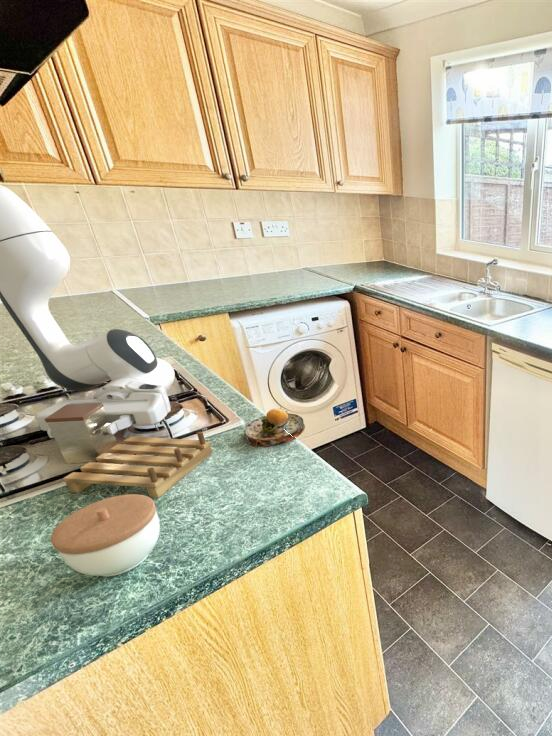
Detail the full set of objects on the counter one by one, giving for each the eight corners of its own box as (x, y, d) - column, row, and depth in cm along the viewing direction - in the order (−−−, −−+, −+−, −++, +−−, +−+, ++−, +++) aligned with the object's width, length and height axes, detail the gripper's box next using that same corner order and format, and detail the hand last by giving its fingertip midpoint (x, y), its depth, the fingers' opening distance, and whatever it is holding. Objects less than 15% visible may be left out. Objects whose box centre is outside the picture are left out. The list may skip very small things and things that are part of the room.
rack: (68, 492, 73) (56, 466, 71) (136, 447, 86) (127, 424, 84) (159, 498, 73) (150, 472, 71) (213, 453, 86) (207, 430, 84)
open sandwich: (286, 414, 102) (281, 386, 98) (316, 430, 96) (311, 401, 93) (234, 434, 92) (226, 405, 89) (263, 453, 87) (256, 422, 83)
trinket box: (60, 567, 60) (32, 516, 56) (150, 522, 68) (131, 476, 64) (90, 604, 55) (62, 552, 51) (183, 551, 63) (165, 503, 59)
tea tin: (65, 464, 80) (44, 418, 76) (85, 447, 85) (66, 404, 81) (101, 461, 81) (82, 416, 77) (119, 445, 86) (102, 402, 82)
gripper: (60, 389, 89) (5, 422, 76) (171, 385, 93) (136, 415, 81) (71, 415, 91) (19, 451, 79) (179, 410, 96) (146, 443, 84)
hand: (80, 433), depth 80 cm, fingers open, 7 cm apart
